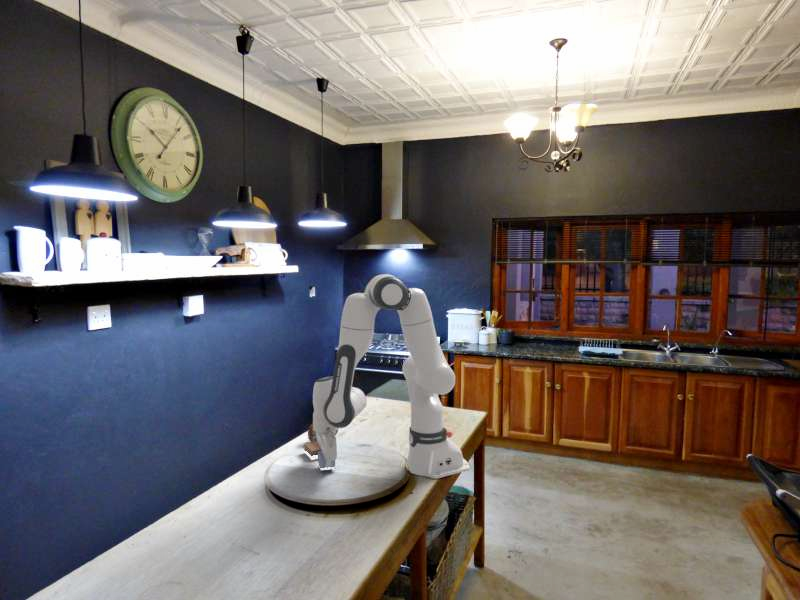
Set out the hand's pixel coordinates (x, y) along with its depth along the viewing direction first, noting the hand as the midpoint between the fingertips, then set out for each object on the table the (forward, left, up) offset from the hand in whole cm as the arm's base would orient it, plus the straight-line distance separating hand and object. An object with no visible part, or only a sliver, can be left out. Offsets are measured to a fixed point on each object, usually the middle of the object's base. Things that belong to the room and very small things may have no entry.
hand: (326, 462), depth 166 cm
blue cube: (0, 0, -2) cm, 2 cm away
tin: (-4, -28, -3) cm, 29 cm away
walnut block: (+1, -13, -3) cm, 14 cm away
